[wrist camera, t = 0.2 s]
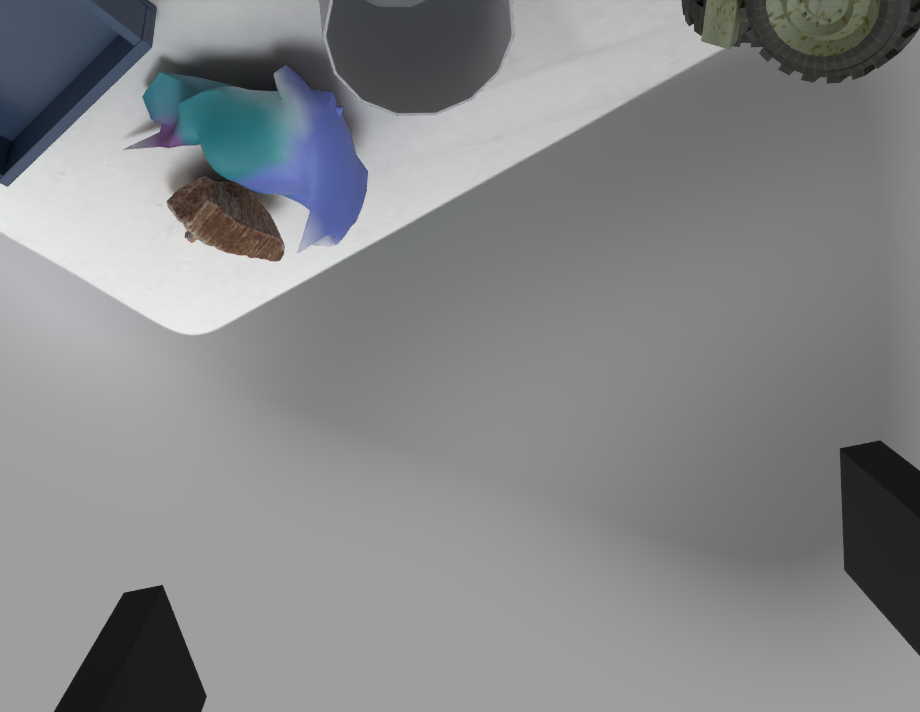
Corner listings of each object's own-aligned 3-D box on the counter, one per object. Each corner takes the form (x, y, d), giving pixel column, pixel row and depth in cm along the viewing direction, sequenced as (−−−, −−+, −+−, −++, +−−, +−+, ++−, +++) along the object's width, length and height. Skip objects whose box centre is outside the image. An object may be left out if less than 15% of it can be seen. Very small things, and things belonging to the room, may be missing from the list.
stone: (305, 201, 51) (285, 273, 50) (253, 201, 54) (233, 269, 54) (213, 154, 45) (189, 235, 45) (162, 158, 49) (140, 233, 48)
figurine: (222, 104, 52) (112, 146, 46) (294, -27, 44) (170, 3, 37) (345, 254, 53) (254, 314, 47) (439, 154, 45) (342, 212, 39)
